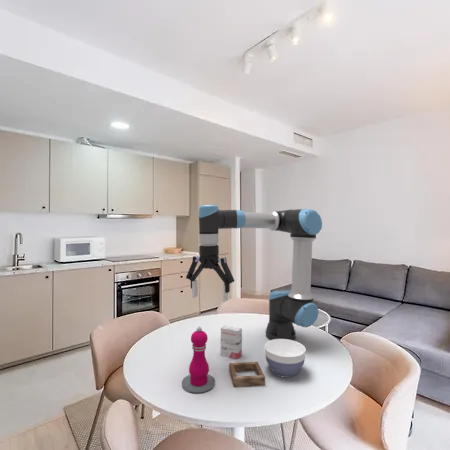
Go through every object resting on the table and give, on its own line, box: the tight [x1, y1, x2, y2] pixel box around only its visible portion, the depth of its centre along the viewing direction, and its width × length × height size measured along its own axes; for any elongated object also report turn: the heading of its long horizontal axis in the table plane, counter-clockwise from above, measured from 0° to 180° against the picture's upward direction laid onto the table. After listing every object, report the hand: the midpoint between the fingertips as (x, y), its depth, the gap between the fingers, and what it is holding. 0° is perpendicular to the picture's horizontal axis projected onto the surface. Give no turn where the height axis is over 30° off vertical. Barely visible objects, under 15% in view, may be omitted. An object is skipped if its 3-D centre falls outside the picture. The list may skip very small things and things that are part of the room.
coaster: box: [181, 373, 216, 395], centre depth 105 cm, size 12×12×1 cm
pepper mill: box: [188, 326, 210, 386], centre depth 105 cm, size 7×7×20 cm
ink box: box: [220, 325, 243, 360], centre depth 127 cm, size 9×5×12 cm, turn 65°
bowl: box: [264, 339, 307, 378], centre depth 114 cm, size 16×16×10 cm
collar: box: [228, 361, 266, 388], centre depth 109 cm, size 12×12×3 cm
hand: (209, 298), depth 113 cm, fingers open, 13 cm apart
